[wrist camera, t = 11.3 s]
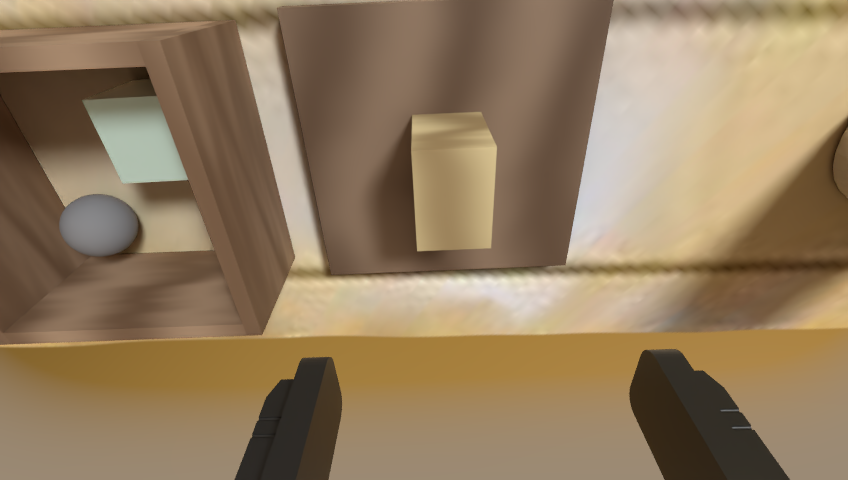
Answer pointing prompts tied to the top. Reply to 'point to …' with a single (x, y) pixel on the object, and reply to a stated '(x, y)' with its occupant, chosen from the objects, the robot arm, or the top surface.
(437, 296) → the top surface
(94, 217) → the ball
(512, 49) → the lid
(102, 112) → the block
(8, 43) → the box
